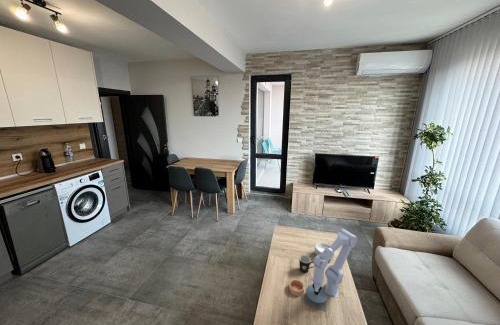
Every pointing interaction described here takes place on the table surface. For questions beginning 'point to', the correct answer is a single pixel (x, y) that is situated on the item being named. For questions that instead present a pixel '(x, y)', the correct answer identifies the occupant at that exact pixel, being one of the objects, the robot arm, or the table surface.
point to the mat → (317, 305)
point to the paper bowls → (321, 248)
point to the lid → (316, 298)
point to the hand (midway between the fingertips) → (316, 292)
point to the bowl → (296, 287)
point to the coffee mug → (304, 263)
